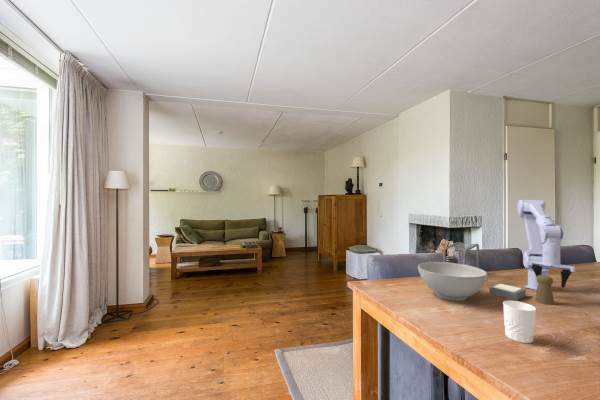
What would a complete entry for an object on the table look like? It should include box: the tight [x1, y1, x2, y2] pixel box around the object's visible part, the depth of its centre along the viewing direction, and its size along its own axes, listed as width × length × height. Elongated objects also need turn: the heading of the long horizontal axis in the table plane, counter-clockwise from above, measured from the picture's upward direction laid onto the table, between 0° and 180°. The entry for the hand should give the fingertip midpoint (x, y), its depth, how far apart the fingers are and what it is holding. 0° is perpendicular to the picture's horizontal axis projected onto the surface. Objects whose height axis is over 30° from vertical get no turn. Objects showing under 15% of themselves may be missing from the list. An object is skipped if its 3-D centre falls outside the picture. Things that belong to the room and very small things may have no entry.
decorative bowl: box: [417, 261, 488, 302], centre depth 119 cm, size 27×27×12 cm
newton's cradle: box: [442, 241, 480, 268], centre depth 148 cm, size 30×10×18 cm, turn 136°
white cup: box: [502, 300, 537, 344], centre depth 83 cm, size 8×8×10 cm
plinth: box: [489, 283, 527, 301], centre depth 121 cm, size 10×10×3 cm
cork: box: [534, 275, 555, 306], centre depth 112 cm, size 6×6×11 cm
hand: (551, 284), depth 116 cm, fingers open, 7 cm apart
